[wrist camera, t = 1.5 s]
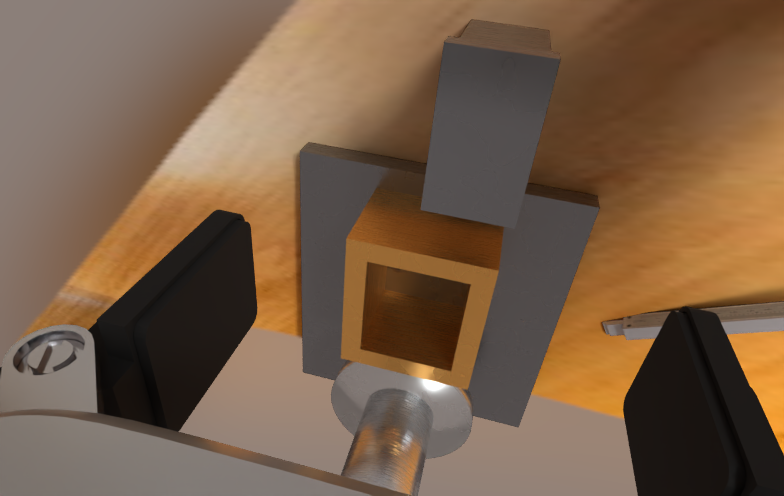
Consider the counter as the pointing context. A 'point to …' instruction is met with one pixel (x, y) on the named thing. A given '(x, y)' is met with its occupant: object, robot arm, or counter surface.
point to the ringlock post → (425, 306)
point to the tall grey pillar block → (488, 121)
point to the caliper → (731, 317)
